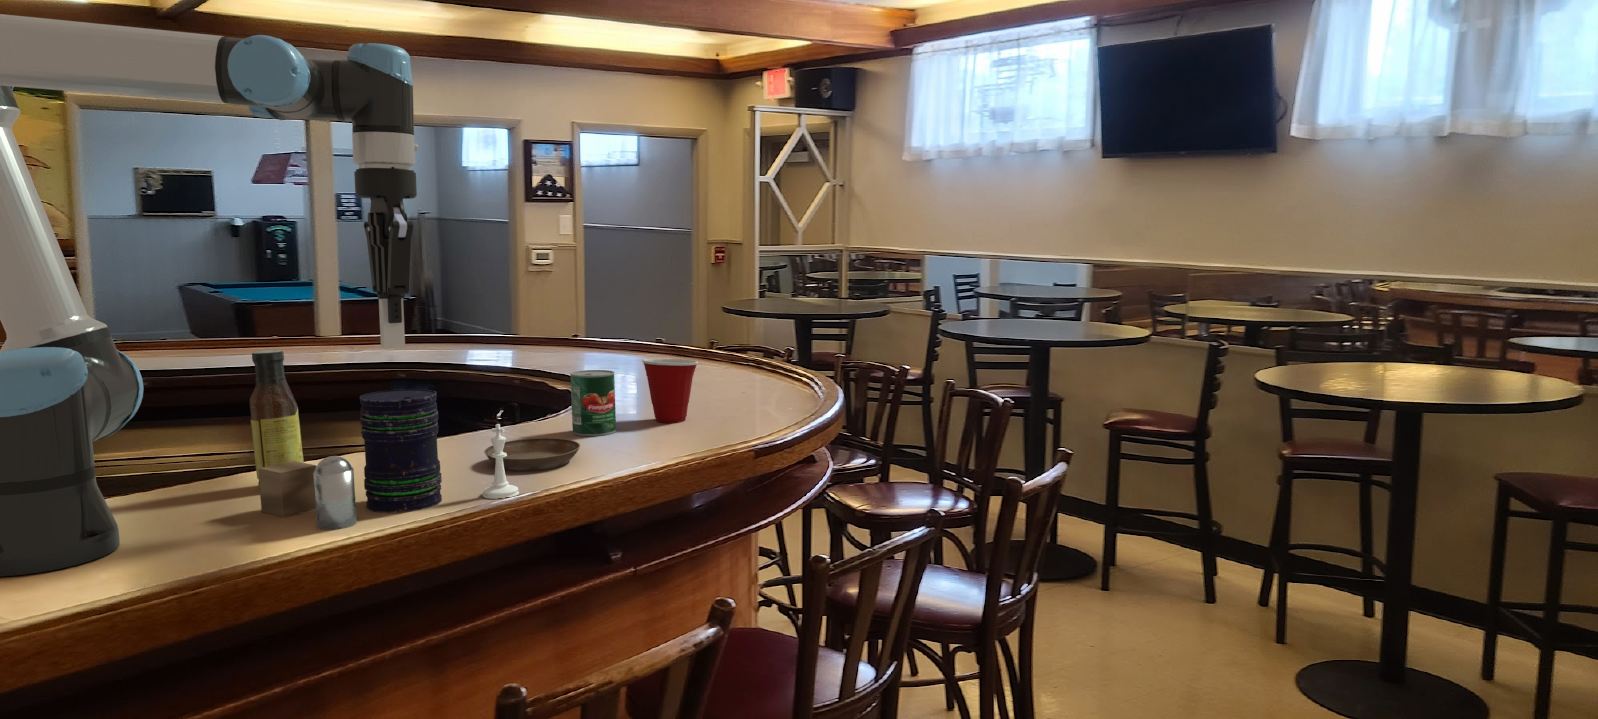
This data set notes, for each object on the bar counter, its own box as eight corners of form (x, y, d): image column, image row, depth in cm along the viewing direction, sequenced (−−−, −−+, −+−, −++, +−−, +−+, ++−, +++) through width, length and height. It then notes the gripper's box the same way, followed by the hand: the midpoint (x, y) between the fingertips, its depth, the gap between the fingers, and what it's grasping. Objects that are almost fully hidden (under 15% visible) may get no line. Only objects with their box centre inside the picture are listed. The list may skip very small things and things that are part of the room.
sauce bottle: (314, 482, 154) (305, 348, 151) (283, 493, 148) (273, 354, 145) (278, 480, 155) (268, 347, 153) (245, 490, 149) (234, 352, 147)
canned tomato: (590, 426, 195) (588, 368, 194) (625, 430, 192) (623, 371, 190) (563, 434, 188) (561, 374, 187) (598, 438, 185) (596, 376, 183)
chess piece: (508, 499, 143) (505, 428, 142) (475, 498, 144) (472, 427, 143) (525, 490, 148) (522, 421, 147) (493, 489, 149) (490, 420, 148)
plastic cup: (711, 419, 202) (710, 358, 200) (669, 427, 194) (668, 363, 192) (673, 413, 209) (672, 353, 207) (631, 420, 201) (629, 359, 199)
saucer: (509, 479, 156) (508, 462, 155) (470, 462, 167) (469, 445, 167) (597, 465, 165) (597, 448, 165) (554, 449, 176) (554, 434, 176)
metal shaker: (322, 531, 129) (317, 462, 127) (312, 523, 132) (308, 455, 131) (361, 525, 131) (357, 456, 130) (350, 517, 135) (346, 450, 134)
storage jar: (353, 503, 142) (346, 395, 140) (423, 490, 149) (417, 386, 147) (384, 517, 135) (377, 403, 133) (455, 502, 142) (450, 394, 140)
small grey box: (283, 518, 135) (280, 472, 134) (261, 512, 138) (258, 468, 137) (319, 509, 139) (316, 465, 139) (296, 504, 142) (293, 461, 141)
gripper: (431, 166, 133) (438, 349, 136) (398, 171, 143) (405, 341, 146) (370, 164, 129) (378, 353, 132) (341, 168, 139) (349, 344, 142)
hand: (393, 347), depth 139 cm, fingers closed
